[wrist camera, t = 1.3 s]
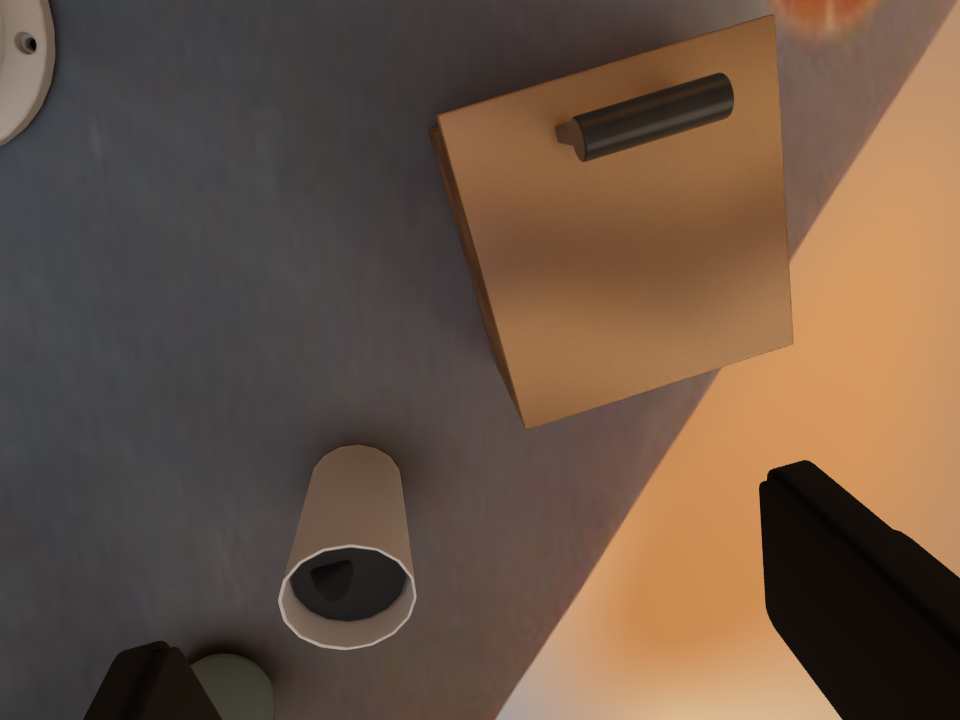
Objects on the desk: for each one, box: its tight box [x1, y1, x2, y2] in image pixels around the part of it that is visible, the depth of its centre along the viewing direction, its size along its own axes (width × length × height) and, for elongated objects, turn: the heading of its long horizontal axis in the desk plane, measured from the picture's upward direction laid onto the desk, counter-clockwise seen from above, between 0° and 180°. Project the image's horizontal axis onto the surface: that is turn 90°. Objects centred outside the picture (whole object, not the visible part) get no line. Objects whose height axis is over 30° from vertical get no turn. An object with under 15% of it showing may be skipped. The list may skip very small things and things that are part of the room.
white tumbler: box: [278, 445, 417, 650], centre depth 34 cm, size 7×7×10 cm
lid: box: [436, 14, 793, 430], centre depth 25 cm, size 15×14×5 cm
